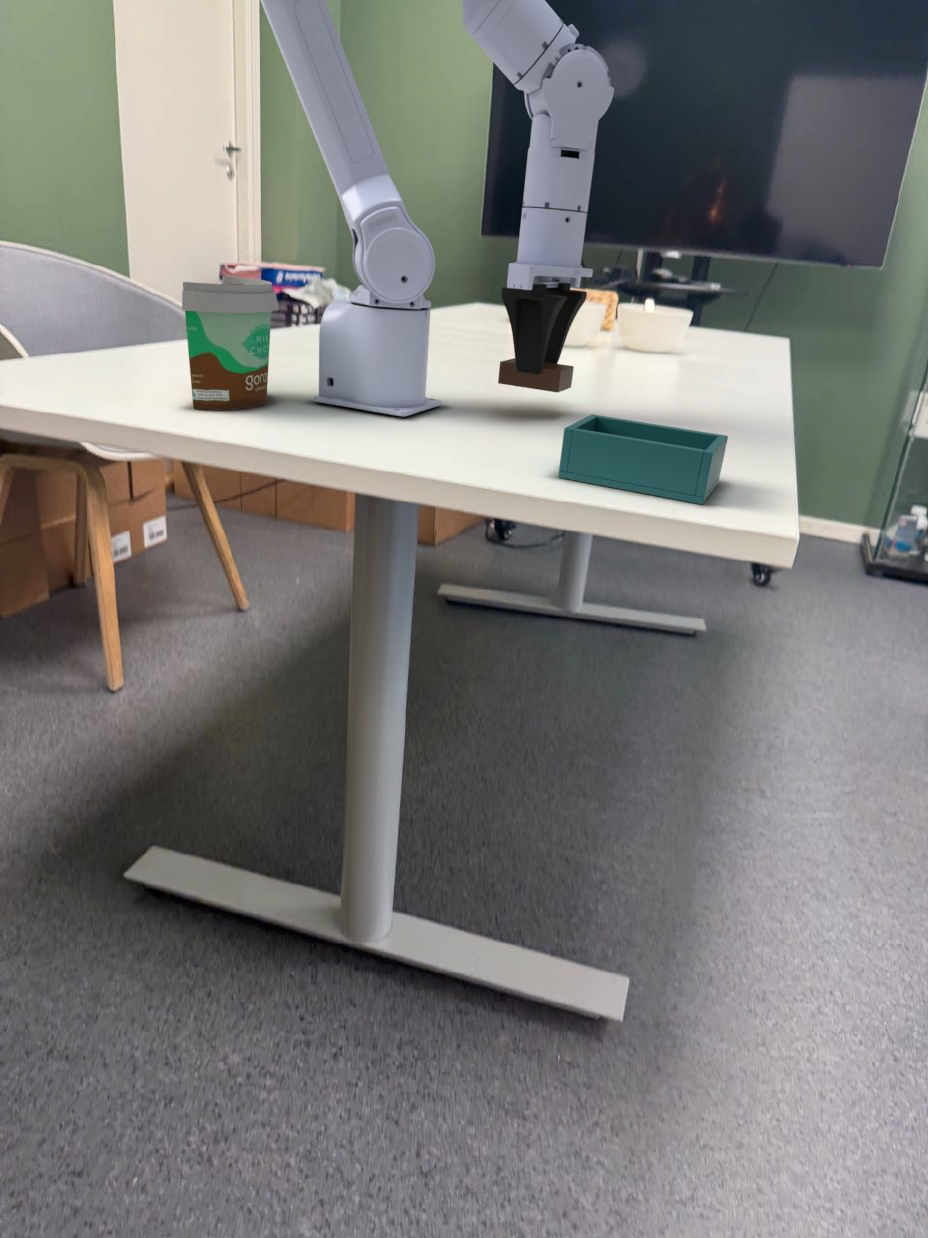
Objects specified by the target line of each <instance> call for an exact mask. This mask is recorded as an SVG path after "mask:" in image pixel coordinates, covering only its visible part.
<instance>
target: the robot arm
mask: <svg viewBox="0 0 928 1238" xmlns="http://www.w3.org/2000/svg"><path fill="white" fill-rule="evenodd" d="M259 1H260V3H261V5H262V8H263V11H264V13H265V16H266V18H267V20H268V23H269V25H270V28H271V31H272V33H273V36H274V38H275V41H276V43H277V47H278V48H279V51H280V53H281V56H282V58H283V61H284V63H285V65H286V69H287V70H288V73H289V76H290V79H291V81H292V84H293V86H294V88H295V91H296V93H297V96H298V98H299V101H300V103H301V106H302V108H303V111H304V113H305V116H306V118H307V121H308V123H309V126H310V129H311V130H312V133H313V136H314V138H315V141H316V143H317V146H318V148H319V151H320V153H321V156H322V159H323V161H324V163H325V166H326V168H327V171H328V173H329V177H330V178H331V181H332V184H333V186H334V189H335V192H336V194H337V196H338V199H339V202H340V205H341V208H342V211H343V214H344V217H345V221H346V222H347V225H348V228H349V231H350V234H351V237H352V244H353V245H352V247H353V248H352V265H353V269H354V272H355V274H356V277H357V278H358V279H359V281H360V282H361V284H360V285H358V286H357V288H356V289H354V291H351V292H349V295H348V296H349V298H348V300H345V299H338V300H334V301H332V302H330V303H329V304H328V306H327V307H325V309H324V312H323V314H322V317H321V320H320V325H319V333H318V395H315V396H313V400H314V402H315V403H321V404H322V403H323V404H327V405H334V406H339V407H343V408H344V407H345V408H349V409H350V408H351V409H356V410H361V411H368V412H373V413H379V414H385V415H391V416H395V417H396V416H397V417H408V416H411V415H414V414H418V413H420V412H424V411H427V410H431V409H433V408H437V407H439V406H442V405H443V401H442V399H437V398H433V397H431V398H430V397H426V395H427V393H426V392H427V377H428V359H429V346H430V345H429V344H430V343H429V342H430V329H431V328H430V327H431V326H430V325H431V310H432V309H431V307H432V301H430V300H427V299H426V298H425V296H424V293H425V292H426V291H427V290H428V288H429V287H430V285H431V283H432V281H433V278H434V275H435V270H436V256H435V252H434V249H433V245H432V244H431V242H430V240H429V238H428V237H427V236H426V234H425V233H424V232H423V231H422V230H421V229H420V228H419V227H417V226H416V225H415V223H414V222H413V220H412V219H411V218H410V215H409V214H408V212H407V209H406V206H405V203H404V201H403V199H402V197H401V194H400V193H399V191H398V188H397V187H396V185H395V183H394V181H393V179H392V177H391V174H390V172H389V169H388V166H387V164H386V161H385V159H384V155H383V153H382V151H381V148H380V145H379V142H378V139H377V136H376V134H375V131H374V128H373V125H372V124H371V123H372V122H371V120H370V118H369V115H368V112H367V109H366V107H365V104H364V101H363V99H362V96H361V93H360V90H359V87H358V85H357V82H356V80H355V77H354V74H353V72H352V69H351V66H350V63H349V61H348V58H347V56H346V53H345V50H344V47H343V44H342V41H341V39H340V37H339V33H338V31H337V28H336V26H335V23H334V21H333V18H332V14H331V12H330V9H329V6H328V4H327V1H326V0H259ZM460 4H461V11H462V26H463V29H464V31H465V32H466V33H467V35H469V36H470V37H471V39H472V40H473V41H474V42H475V43H476V44H477V46H478V47H479V48H480V49H481V50H482V51H483V52H484V54H486V55H487V57H488V58H489V59H490V60H491V61H492V62H493V64H495V66H496V67H497V68H498V69H499V70H500V71H501V72H502V73H503V74H504V76H505V77H506V78H507V79H508V80H509V81H510V82H511V84H513V86H514V87H515V88H516V89H517V90H519V91H523V94H524V104H525V108H526V111H527V114H528V116H529V119H531V129H530V130H531V131H530V141H529V147H528V150H527V158H526V168H525V179H524V186H523V187H524V188H523V189H524V190H523V198H522V207H521V216H520V217H521V218H520V227H519V237H518V247H517V257H516V261H514V262H511V263H508V268H507V269H508V270H507V282H506V286H502V287H501V292H500V296H501V301H502V303H503V305H504V307H505V310H506V313H507V316H508V320H509V324H510V328H511V334H512V342H513V350H514V351H513V353H514V358H515V361H516V368H517V371H518V372H525V373H532V374H539V373H540V371H541V369H542V366H543V363H544V362H548V363H555V364H559V360H560V358H561V356H562V355H561V354H562V352H563V349H564V346H565V343H566V340H567V337H568V334H569V332H570V329H571V327H572V324H573V322H574V320H575V318H576V317H577V315H578V313H579V311H580V310H581V308H582V306H583V305H584V303H585V302H586V300H587V295H588V292H587V291H584V290H577V289H571V288H580V287H581V280H582V278H592V277H593V274H594V273H593V272H594V269H593V268H586V267H583V266H582V256H583V249H584V242H585V235H586V234H585V233H586V225H587V217H588V212H589V211H588V210H589V203H590V195H591V188H592V180H593V179H592V178H593V172H594V165H595V157H596V155H595V154H596V152H595V150H596V142H597V135H598V127H599V121H600V119H601V118H602V117H603V116H604V115H605V114H606V112H607V111H608V109H609V107H610V105H611V104H612V100H613V98H614V94H615V88H614V87H613V86H611V76H609V74H608V72H609V71H610V70H609V67H608V65H607V62H606V61H605V59H604V58H603V56H602V55H601V54H600V53H599V52H598V51H597V50H596V49H594V48H593V47H591V46H590V45H587V46H585V45H584V44H582V43H576V41H577V39H578V37H579V36H580V32H579V30H578V29H577V28H576V27H575V25H574V24H573V23H571V24H569V25H568V26H567V25H566V24H565V23H564V22H563V20H562V19H561V18H560V17H559V16H558V14H557V13H556V12H555V11H554V9H553V8H552V7H551V6H550V4H548V2H547V1H546V0H460Z"/></svg>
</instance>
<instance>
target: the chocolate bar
mask: <svg viewBox="0 0 928 1238" xmlns="http://www.w3.org/2000/svg"><path fill="white" fill-rule="evenodd" d="M574 369H575V367H574V365H568V364H561V363H557V364H555V363H548V362H544V363H543V366H542V369H541V371H540V373H539V374H532V373H525V372H518V371H517V368H516V361H515V357H514V358H509V359H506V360H505V359H504V360H501V361H499V370H498V371H499V372H498V381H497V384H500V385H506V386H513V387H519V388H526V389H530V390H531V389H533V390H539V391H545V392H552V393H561V392H564V391H565V390H568V389H571V388H572V384H573V377H574Z"/></svg>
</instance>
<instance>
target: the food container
mask: <svg viewBox="0 0 928 1238" xmlns="http://www.w3.org/2000/svg"><path fill="white" fill-rule="evenodd" d="M181 294H182V295H181V310H182V311H184V314H185V315H184V316H185V327H186V328H185V329H186V338H187V350H188V361H189V363H188V365H189V374H190V385H191V387H190V388H191V397H192V408H193V409H194V410H205V411H206V410H209V411H210V410H213V411H215V410H216V411H222V410H223V411H228V410H230V411H231V410H244V409H252V408H258V407H261V406H263V405H266V404H267V402H268V401H267V400H268V399H267V398H268V381H269V363H270V347H271V328H272V327H271V324H272V312H276V311H279V310H280V307H279V302H278V297H277V293H276V290H274V289H273V283H272V282H271V281H270V280H269V281H268V280H264V279H258V278H250V277H243V276H242V277H241V276H233V275H232V276H231V275H222V283H206V282H191V281H182V290H181Z"/></svg>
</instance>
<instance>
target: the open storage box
mask: <svg viewBox="0 0 928 1238" xmlns="http://www.w3.org/2000/svg"><path fill="white" fill-rule="evenodd" d="M728 439H729V436H728V435H725V434H719V433H712V432H706V431H700V430H694V429H687V428H681V427H674V426H670V425H662V424H656V423H649V422H643V421H637V420H630V419H624V418H618V417H611V416H606V415H605V416H604V415H599V414H590V415H587V416H586V417H583V418H582V419H580V420H578V421H576V422H574V423H572V424H570V425H568V426H566V427H564V430H563V437H562V445H561V452H560V461H559V467H558V478H561V479H566V480H570V481H576V482H581V483H586V484H593V485H597V486H602V487H608V488H613V489H619V490H624V491H630V492H633V493H640V494H644V495H645V494H646V495H651V496H656V497H660V498H666V499H671V500H677V501H683V502H688V503H691V504H692V503H693V504H697V505H698V504H699V505H704V503H705V502H706V501H707V499H708V498H709V496H710V495H711V493H712V492H713V491H714V489H715V488H717V486H718V484H719V482H720V476H721V471H722V467H723V463H724V458H725V453H726V449H727V444H728Z"/></svg>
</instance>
